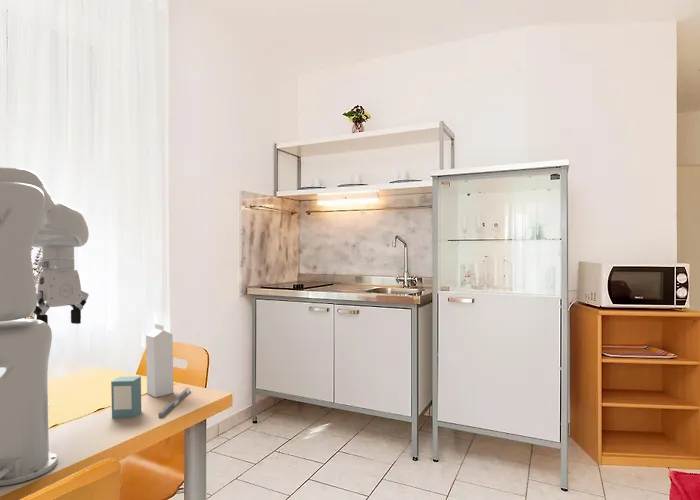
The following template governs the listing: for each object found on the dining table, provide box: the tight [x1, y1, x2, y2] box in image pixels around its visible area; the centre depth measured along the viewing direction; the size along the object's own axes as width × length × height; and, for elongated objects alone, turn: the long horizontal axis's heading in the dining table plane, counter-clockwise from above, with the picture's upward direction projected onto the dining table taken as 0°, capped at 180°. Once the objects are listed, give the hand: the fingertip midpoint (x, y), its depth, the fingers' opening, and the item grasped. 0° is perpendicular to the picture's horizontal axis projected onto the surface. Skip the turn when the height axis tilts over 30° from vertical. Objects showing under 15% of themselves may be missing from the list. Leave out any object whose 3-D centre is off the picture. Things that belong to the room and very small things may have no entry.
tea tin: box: [110, 375, 142, 419], centre depth 123 cm, size 6×5×10 cm
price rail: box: [158, 387, 191, 418], centre depth 131 cm, size 22×1×1 cm, turn 1°
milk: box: [145, 323, 174, 398], centre depth 141 cm, size 6×6×22 cm
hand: (59, 326), depth 125 cm, fingers open, 9 cm apart
